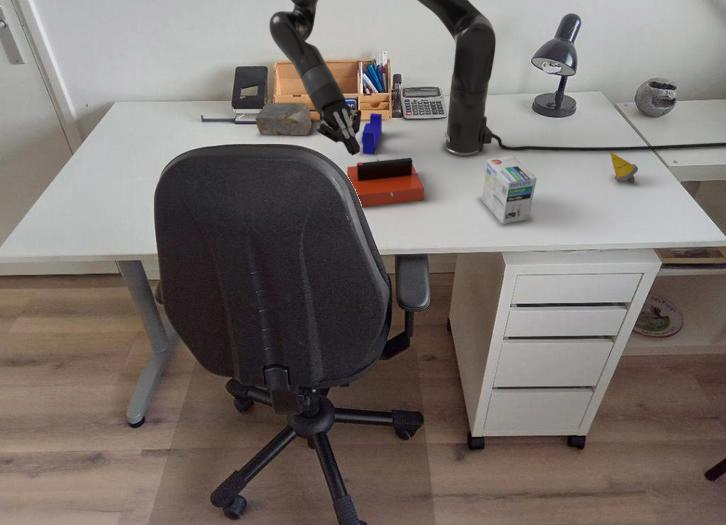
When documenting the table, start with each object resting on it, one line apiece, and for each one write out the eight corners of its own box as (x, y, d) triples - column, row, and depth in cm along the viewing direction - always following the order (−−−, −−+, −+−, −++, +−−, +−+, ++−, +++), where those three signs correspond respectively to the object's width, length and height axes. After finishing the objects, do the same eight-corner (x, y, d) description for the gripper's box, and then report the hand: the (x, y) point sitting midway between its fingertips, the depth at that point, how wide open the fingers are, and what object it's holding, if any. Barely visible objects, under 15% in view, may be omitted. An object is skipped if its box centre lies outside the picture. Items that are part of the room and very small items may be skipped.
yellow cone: (629, 192, 130) (605, 160, 128) (620, 189, 135) (596, 158, 133) (648, 177, 129) (624, 145, 127) (638, 174, 134) (614, 143, 132)
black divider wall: (410, 172, 131) (411, 156, 128) (411, 175, 129) (412, 159, 127) (357, 178, 129) (356, 162, 126) (358, 181, 128) (357, 165, 125)
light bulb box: (529, 220, 121) (538, 178, 114) (501, 225, 119) (509, 183, 112) (506, 195, 129) (513, 154, 122) (480, 199, 127) (486, 159, 120)
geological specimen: (262, 102, 160) (312, 100, 158) (265, 121, 164) (314, 120, 162) (253, 116, 151) (306, 115, 150) (257, 137, 155) (308, 135, 154)
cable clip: (366, 132, 155) (365, 112, 151) (381, 134, 154) (381, 114, 150) (357, 152, 146) (356, 132, 142) (373, 154, 145) (373, 133, 141)
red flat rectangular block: (410, 168, 139) (410, 155, 137) (428, 204, 126) (429, 191, 124) (343, 175, 137) (343, 162, 135) (355, 213, 124) (354, 199, 122)
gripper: (305, 89, 124) (341, 156, 124) (350, 74, 130) (384, 138, 131) (294, 104, 130) (328, 168, 131) (338, 89, 137) (370, 150, 137)
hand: (356, 153), depth 131 cm, fingers closed
